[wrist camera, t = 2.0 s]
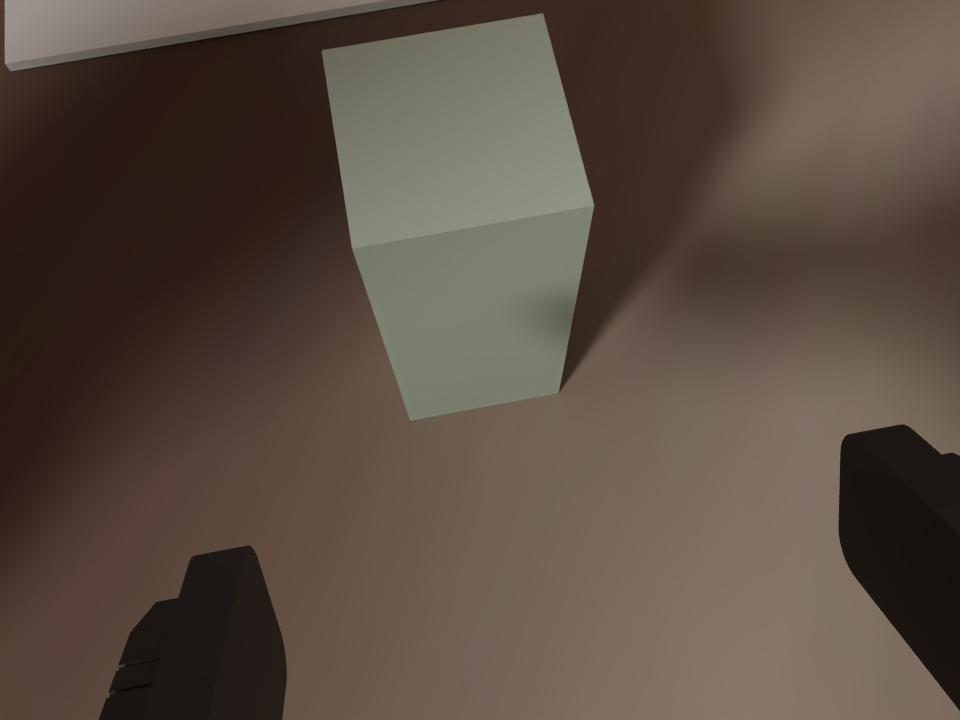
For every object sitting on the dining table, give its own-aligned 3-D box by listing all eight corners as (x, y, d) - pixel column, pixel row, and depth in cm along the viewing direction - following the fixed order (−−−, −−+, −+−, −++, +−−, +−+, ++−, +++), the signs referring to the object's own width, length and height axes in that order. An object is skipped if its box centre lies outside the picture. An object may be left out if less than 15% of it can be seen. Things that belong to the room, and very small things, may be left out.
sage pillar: (410, 420, 27) (352, 248, 16) (387, 285, 28) (321, 50, 18) (558, 393, 27) (593, 205, 16) (528, 260, 28) (542, 13, 18)
